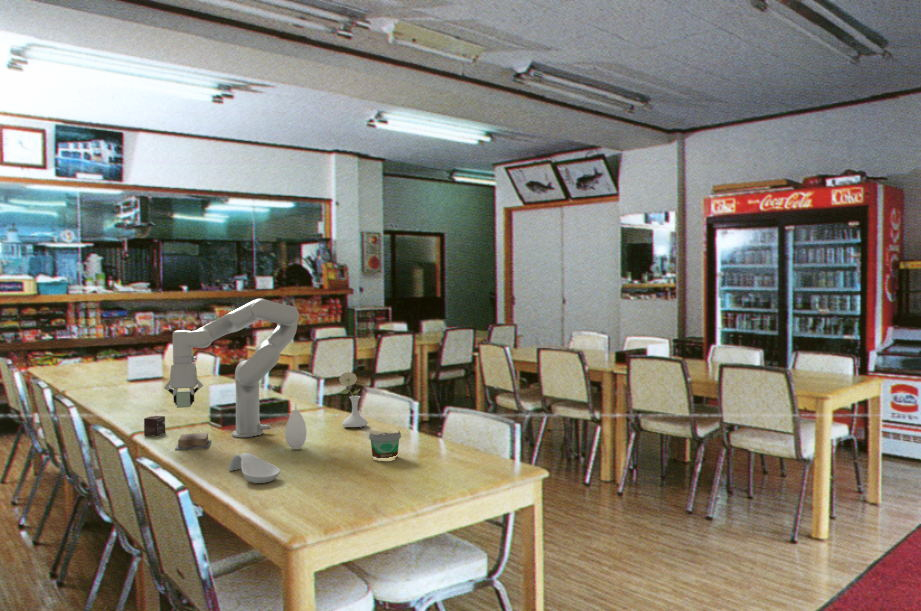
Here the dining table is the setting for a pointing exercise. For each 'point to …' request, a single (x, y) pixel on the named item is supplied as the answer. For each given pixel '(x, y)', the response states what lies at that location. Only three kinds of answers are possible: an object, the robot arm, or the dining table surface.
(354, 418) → the flower in vase
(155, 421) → the box
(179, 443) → the plinth
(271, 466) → the spoon rest
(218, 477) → the dining table surface
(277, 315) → the robot arm
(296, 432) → the sauce bottle
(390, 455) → the food container
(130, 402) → the dining table surface
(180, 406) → the block
